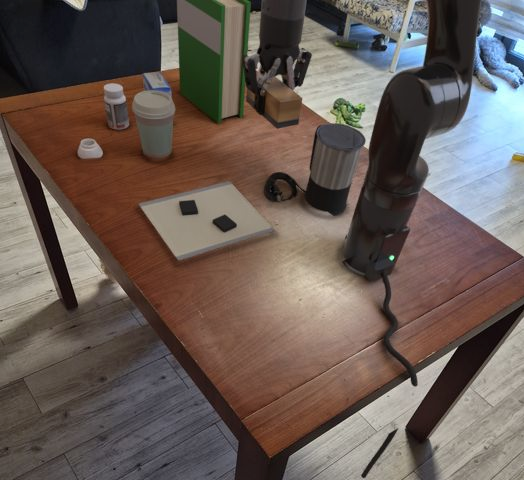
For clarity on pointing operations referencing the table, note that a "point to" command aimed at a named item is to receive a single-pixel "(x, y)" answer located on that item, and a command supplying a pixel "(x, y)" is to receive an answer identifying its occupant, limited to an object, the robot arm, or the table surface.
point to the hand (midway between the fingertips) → (272, 110)
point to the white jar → (89, 149)
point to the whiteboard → (204, 220)
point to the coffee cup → (154, 122)
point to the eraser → (279, 104)
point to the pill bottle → (116, 106)
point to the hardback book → (213, 54)
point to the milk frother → (326, 169)
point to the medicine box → (156, 83)
